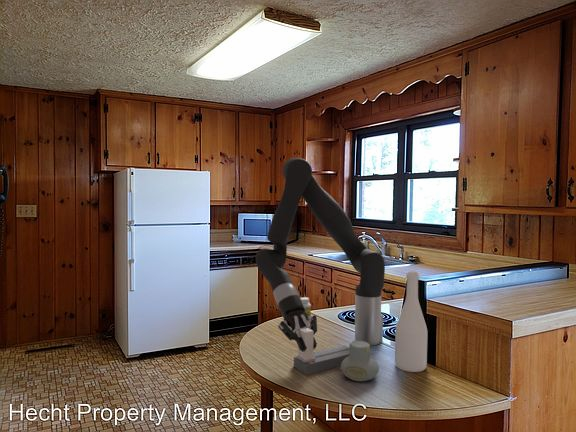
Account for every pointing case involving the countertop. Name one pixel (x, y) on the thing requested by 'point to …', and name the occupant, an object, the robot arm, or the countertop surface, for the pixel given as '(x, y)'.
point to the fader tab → (308, 340)
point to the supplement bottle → (306, 305)
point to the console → (323, 360)
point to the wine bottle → (411, 331)
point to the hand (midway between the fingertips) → (309, 348)
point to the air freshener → (359, 363)
